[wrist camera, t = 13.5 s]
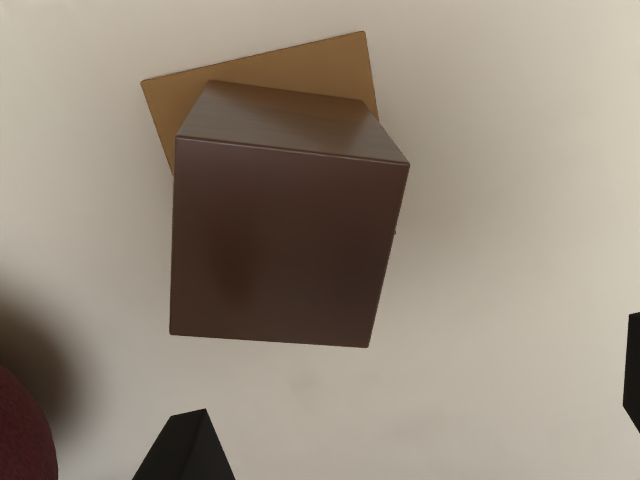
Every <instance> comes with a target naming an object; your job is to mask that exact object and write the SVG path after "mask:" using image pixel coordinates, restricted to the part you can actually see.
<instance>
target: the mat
mask: <svg viewBox="0 0 640 480" xmlns="http://www.w3.org/2000/svg"><path fill="white" fill-rule="evenodd" d="M209 80H216V81H223V82H231V83H238V84H246V85H253V86H261V87H268V88H276V89H283V90H291V91H298V92H305V93H313V94H320V95H328V96H335V97H343V98H350V99H358V100H362V101H363V102H364V103H365V105H366V106H367V107H368V109H369V110H370V111H371V112H372V114H373V115H374V116H375V118H376V119H377V120H378V122H379V119H378V113H377V106H376V100H375V93H374V87H373V80H372V74H371V67H370V61H369V54H368V48H367V41H366V34H365V32H364V31H360V32H356V33H351V34H347V35H342V36H338V37H334V38H329V39H325V40H320V41H316V42H311V43H307V44H303V45H298V46H294V47H289V48H285V49H281V50H276V51H272V52H267V53H263V54H259V55H254V56H250V57H245V58H241V59H237V60H232V61H228V62H223V63H219V64H214V65H210V66H206V67H201V68H197V69H192V70H188V71H184V72H179V73H175V74H170V75H166V76H162V77H157V78H153V79H148V80H144V81H142V82H141V87H142V89H143V92H144V95H145V98H146V101H147V104H148V106H149V109H150V112H151V115H152V118H153V121H154V124H155V126H156V129H157V132H158V135H159V138H160V141H161V143H162V146H163V149H164V152H165V155H166V158H167V160H168V163H169V166H170V169H171V172H172V175H173V178H174V142H175V136H176V134H177V132H178V131H179V129H180V127H181V126H182V124H183V122H184V121H185V119H186V117H187V116H188V114H189V113H190V111H191V109H192V108H193V106H194V104H195V103H196V101H197V99H198V98H199V96H200V94H201V93H202V91H203V89H204V88H205V86H206V84H207V83H208V81H209ZM395 234H396V230H395ZM395 234H394V235H395Z"/></svg>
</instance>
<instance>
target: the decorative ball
mask: <svg viewBox="0 0 640 480" xmlns="http://www.w3.org/2000/svg"><path fill="white" fill-rule="evenodd" d="M0 480H58V464H57V457H56V451H55V446H54V442H53V438H52V434H51V430H50V427H49V425H48V423H47V420H46V418H45V416H44V413H43V411H42V410H41V408H40V407H39V406H38V404H37V403H36V401H35V400H34V399H33V397H32V396H31V395H30V393H29V392H28V390H27V389H26V388H25V386H24V385H23V384H22V382H20V381H19V380H18V379H17V378H16V377H15V376H14V375H13V374H12V373H11V372H10V371H9V370H8V369H6V368H5V367H4V366H2V365H1V364H0Z"/></svg>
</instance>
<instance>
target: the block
mask: <svg viewBox="0 0 640 480" xmlns="http://www.w3.org/2000/svg"><path fill="white" fill-rule="evenodd" d="M409 168H410V163H409V161H408V160H407V159H406V157H405V156H404V155H403V153H402V152H401V151H400V149H399V148H398V147H397V146H396V144H395V143H394V142H393V140H392V139H391V138H390V136H389V135H388V134H387V132H386V131H385V130H384V128H383V127H382V126H381V124H380V123H379V122H378V120H377V119H376V118H375V116H374V115H373V114H372V112H371V111H370V110H369V109H368V107H367V106H366V105H365V103H364V102H363V101H362V100H358V99H350V98H343V97H335V96H328V95H320V94H313V93H305V92H298V91H291V90H283V89H276V88H268V87H261V86H253V85H246V84H238V83H231V82H223V81H216V80H209V81H208V83H207V84H206V86H205V88H204V89H203V91H202V93H201V94H200V96H199V98H198V99H197V101H196V103H195V104H194V106H193V108H192V109H191V111H190V113H189V114H188V116H187V117H186V119H185V121H184V122H183V124H182V126H181V127H180V129H179V131H178V132H177V134H176V136H175V142H174V178H173V215H172V251H171V287H170V324H169V333H170V335H179V336H194V337H209V338H224V339H238V340H253V341H268V342H283V343H298V344H313V345H328V346H343V347H358V348H368V346H369V342H370V338H371V334H372V329H373V325H374V321H375V316H376V312H377V308H378V303H379V299H380V294H381V290H382V286H383V281H384V277H385V273H386V268H387V264H388V260H389V255H390V251H391V247H392V242H393V238H394V234H395V229H396V225H397V221H398V216H399V212H400V207H401V203H402V199H403V194H404V190H405V186H406V181H407V177H408V173H409Z"/></svg>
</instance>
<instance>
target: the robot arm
mask: <svg viewBox="0 0 640 480" xmlns="http://www.w3.org/2000/svg"><path fill="white" fill-rule="evenodd" d="M623 407H624V408H625V410H626V412H627V413H628V415H629V416H630V418H631V420H632V421H633V423H634V425H635V426H636V428H637V429H638V431H639V433H640V312H638V313H634V314H629V322H628V337H627V351H626V365H625V379H624V394H623ZM132 480H235V477H234V475H233V473H232V470H231V468H230V465H229V463H228V461H227V458H226V456H225V453H224V451H223V449H222V446H221V444H220V441H219V439H218V437H217V434H216V432H215V429H214V427H213V425H212V422H211V420H210V417H209V415H208V413H207V410H206V408H205V409H201V410H196V411H192V412H187V413H183V414H178V415H174V416H171V417H170V418H169V420H168V421H167V423H166V424H165V426H164V427H163V429H162V431H161V432H160V434H159V435H158V437H157V439H156V440H155V442H154V444H153V445H152V447H151V449H150V450H149V452H148V454H147V455H146V457H145V459H144V460H143V462H142V464H141V465H140V467H139V469H138V471H137V472H136V474H135V475H134V477H133V479H132Z"/></svg>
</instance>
